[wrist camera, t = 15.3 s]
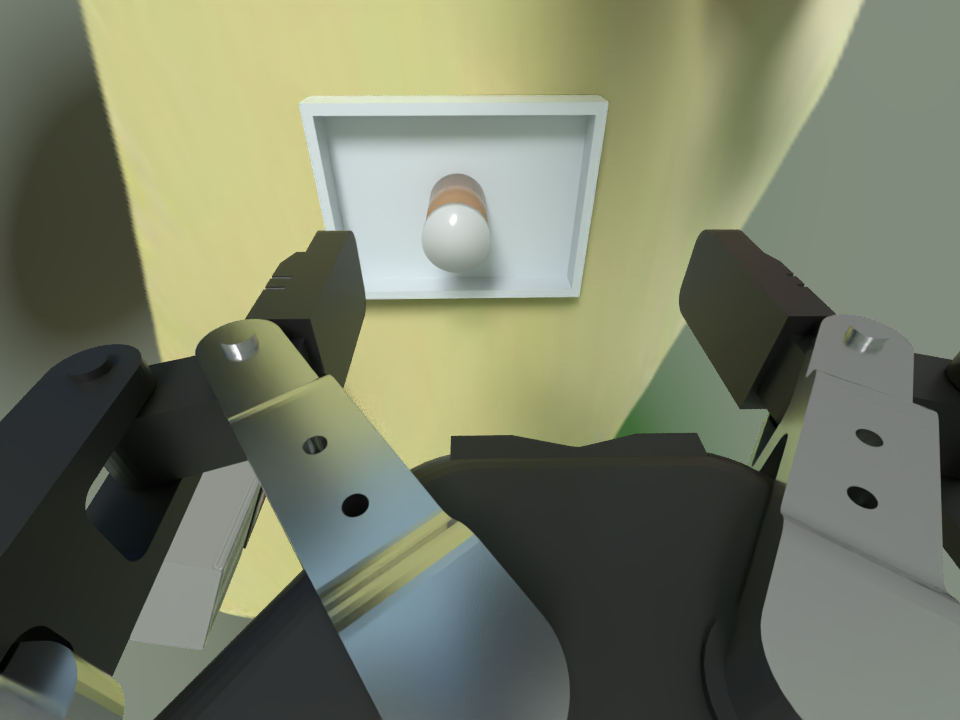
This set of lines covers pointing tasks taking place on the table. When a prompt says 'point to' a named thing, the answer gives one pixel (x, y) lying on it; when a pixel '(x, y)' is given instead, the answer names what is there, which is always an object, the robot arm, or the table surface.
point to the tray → (463, 150)
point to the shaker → (456, 224)
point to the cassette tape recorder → (201, 559)
